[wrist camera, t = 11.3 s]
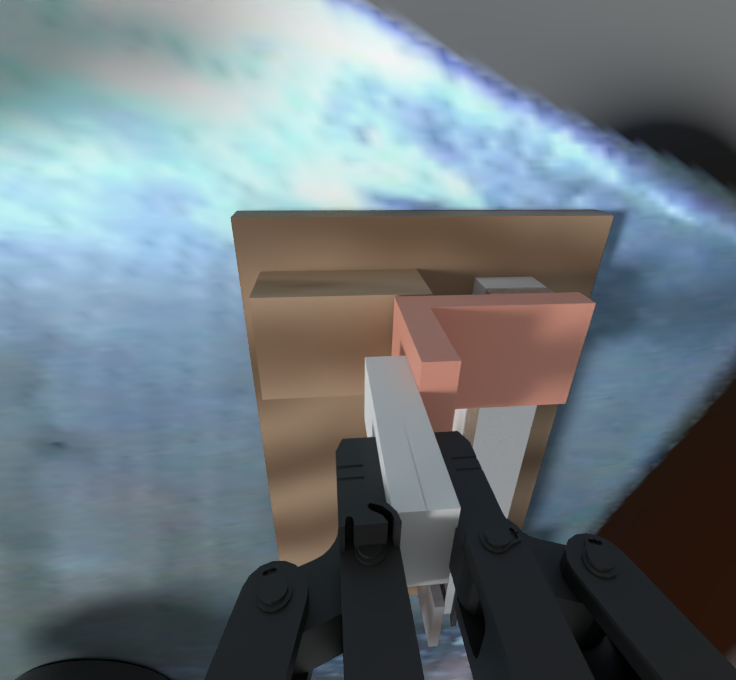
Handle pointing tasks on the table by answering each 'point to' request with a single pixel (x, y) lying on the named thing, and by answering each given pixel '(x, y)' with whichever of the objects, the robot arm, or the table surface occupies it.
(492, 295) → the bracket
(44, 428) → the table surface
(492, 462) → the tong arm
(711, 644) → the robot arm
